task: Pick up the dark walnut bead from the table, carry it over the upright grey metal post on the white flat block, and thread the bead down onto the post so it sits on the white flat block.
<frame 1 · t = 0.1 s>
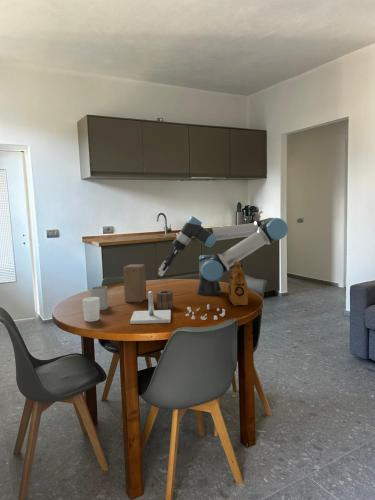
hand: (160, 273, 209), 15 cm above the table, tool tilted 35°, fingers open, 13 cm apart
white cup: (92, 320, 175), on the table
white flat block: (151, 318, 175), on the table
walnut bead: (165, 307, 194), on the table
game piece set: (206, 315, 179), on the table
wooden block: (135, 300, 211), on the table
mug: (101, 307, 197), on the table
coffee package: (238, 303, 198), on the table
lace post: (150, 303, 174), on the white flat block, point 7 cm above the table
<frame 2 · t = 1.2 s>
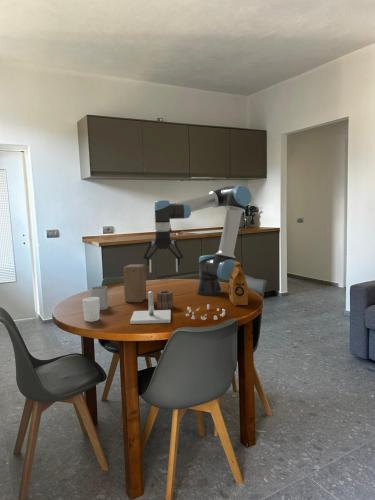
hand: (163, 272, 192), 19 cm above the table, tool pointing down, fingers open, 13 cm apart
nothing on the table moved.
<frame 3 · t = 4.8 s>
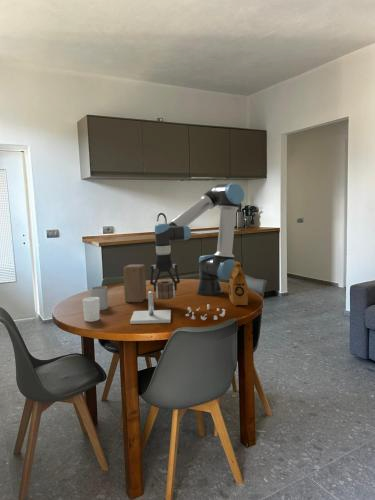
hand: (165, 296, 194), 5 cm above the table, tool pointing down, fingers closed on walnut bead, 8 cm apart
walnut bead: (165, 297, 194), point 5 cm above the table, touching gripper
everything else where it was.
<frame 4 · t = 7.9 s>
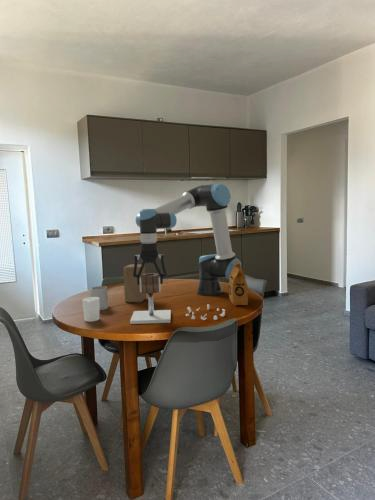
hand: (150, 291, 174), 13 cm above the table, tool pointing down, fingers closed on walnut bead, 8 cm apart
walnut bead: (150, 291, 174), point 13 cm above the table, touching gripper
everything else where it was.
when the fingers open (3 cm above the table, at t = 11.4 s): walnut bead drops 1 cm, resting on white flat block.
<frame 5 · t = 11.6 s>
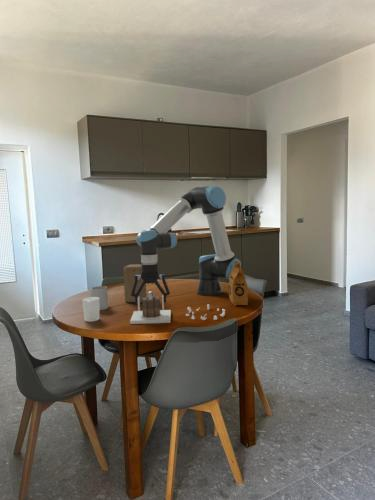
hand: (151, 310, 175), 4 cm above the table, tool pointing down, fingers open, 10 cm apart
walnut bead: (151, 315, 175), point 1 cm above the table, touching white flat block
everything else where it was.
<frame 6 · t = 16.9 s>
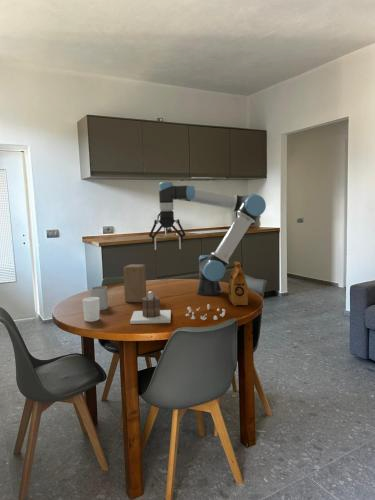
hand: (167, 249, 206), 29 cm above the table, tool pointing down, fingers open, 13 cm apart
nothing on the table moved.
at the end: walnut bead 0.1 cm off-centre on the white flat block, point 1.5 cm above the white flat block's base; walnut bead tilted 0°; the gripper is holding nothing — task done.
